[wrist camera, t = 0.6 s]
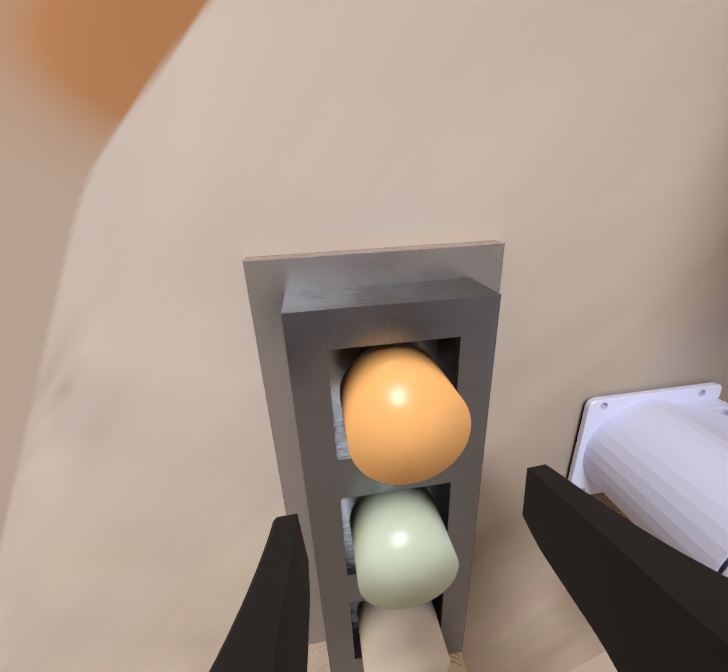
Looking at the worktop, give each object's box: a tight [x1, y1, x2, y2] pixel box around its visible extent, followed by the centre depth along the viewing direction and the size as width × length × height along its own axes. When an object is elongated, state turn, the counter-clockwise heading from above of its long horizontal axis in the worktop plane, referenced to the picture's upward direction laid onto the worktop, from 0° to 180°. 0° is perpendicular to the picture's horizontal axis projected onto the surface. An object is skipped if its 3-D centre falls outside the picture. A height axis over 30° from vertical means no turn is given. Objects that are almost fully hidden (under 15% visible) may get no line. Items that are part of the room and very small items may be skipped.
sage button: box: [350, 487, 459, 610], centre depth 18 cm, size 5×5×3 cm
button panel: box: [243, 241, 505, 672], centre depth 21 cm, size 12×28×4 cm, turn 3°
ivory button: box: [357, 600, 450, 672], centre depth 21 cm, size 5×5×3 cm
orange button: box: [340, 343, 471, 485], centre depth 15 cm, size 5×5×3 cm
